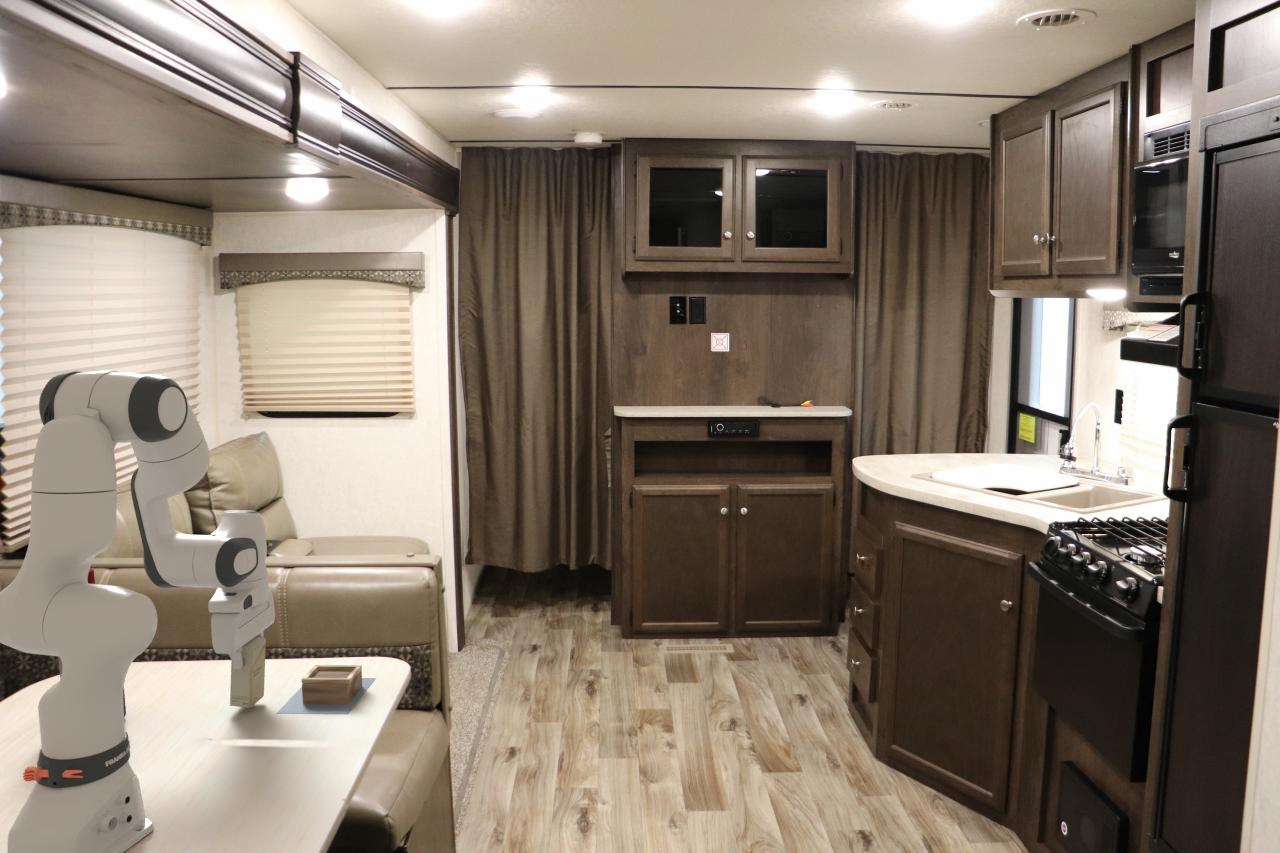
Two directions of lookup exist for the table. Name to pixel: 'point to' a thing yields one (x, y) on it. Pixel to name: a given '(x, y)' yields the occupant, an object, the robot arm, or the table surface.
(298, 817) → the table surface
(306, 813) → the table surface
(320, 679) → the walnut tray
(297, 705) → the blue board
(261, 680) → the skincare box
